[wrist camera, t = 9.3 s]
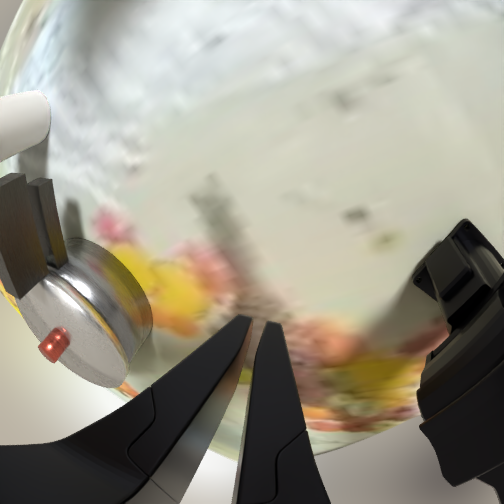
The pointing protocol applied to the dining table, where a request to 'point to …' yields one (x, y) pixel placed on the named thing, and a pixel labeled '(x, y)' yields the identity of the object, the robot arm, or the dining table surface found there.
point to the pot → (92, 272)
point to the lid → (53, 297)
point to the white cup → (23, 122)
